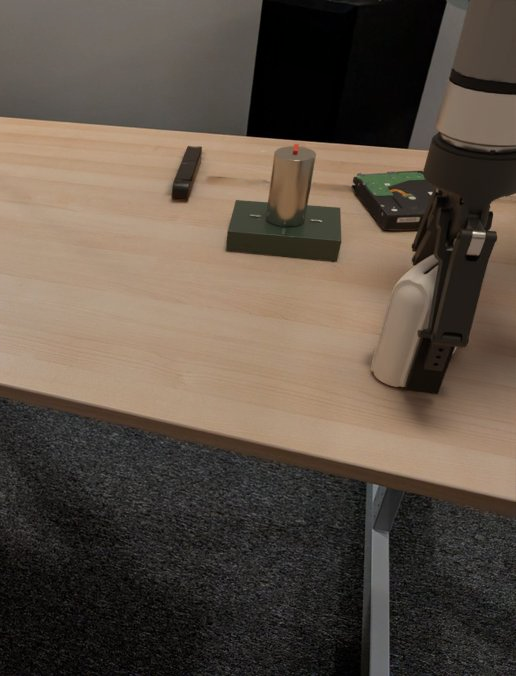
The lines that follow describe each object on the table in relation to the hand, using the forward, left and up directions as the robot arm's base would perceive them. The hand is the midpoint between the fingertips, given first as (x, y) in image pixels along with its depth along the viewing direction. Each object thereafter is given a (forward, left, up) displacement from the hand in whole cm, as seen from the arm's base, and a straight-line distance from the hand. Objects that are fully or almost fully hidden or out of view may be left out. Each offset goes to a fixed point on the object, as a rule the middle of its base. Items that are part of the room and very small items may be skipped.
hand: (415, 354), depth 65 cm
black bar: (+30, -43, -1) cm, 52 cm away
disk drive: (-2, -38, -1) cm, 38 cm away
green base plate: (+14, -25, -1) cm, 29 cm away
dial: (+14, -25, +2) cm, 29 cm away
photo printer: (0, 0, -1) cm, 1 cm away
